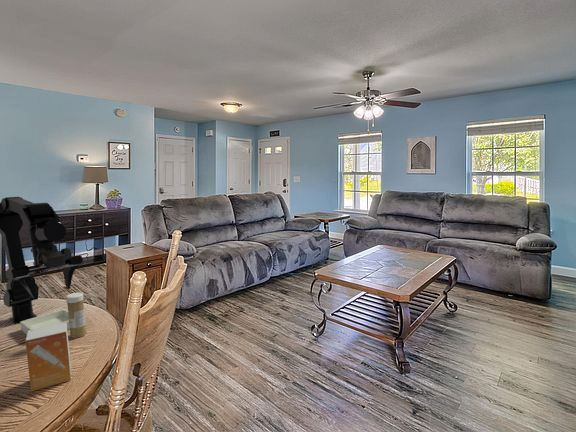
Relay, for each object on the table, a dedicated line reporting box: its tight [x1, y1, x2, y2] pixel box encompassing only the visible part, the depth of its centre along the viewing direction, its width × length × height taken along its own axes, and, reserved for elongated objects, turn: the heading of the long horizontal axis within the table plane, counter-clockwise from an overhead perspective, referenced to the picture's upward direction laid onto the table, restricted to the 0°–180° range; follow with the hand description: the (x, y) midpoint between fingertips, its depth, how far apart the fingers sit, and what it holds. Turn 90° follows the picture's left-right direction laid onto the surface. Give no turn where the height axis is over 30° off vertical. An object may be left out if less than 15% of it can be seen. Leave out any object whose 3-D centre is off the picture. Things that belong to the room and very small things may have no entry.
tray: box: [20, 308, 70, 335], centre depth 111 cm, size 13×13×3 cm
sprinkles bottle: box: [65, 292, 87, 339], centre depth 105 cm, size 5×5×13 cm
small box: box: [25, 322, 72, 392], centre depth 82 cm, size 8×6×13 cm
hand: (52, 293), depth 102 cm, fingers open, 9 cm apart
